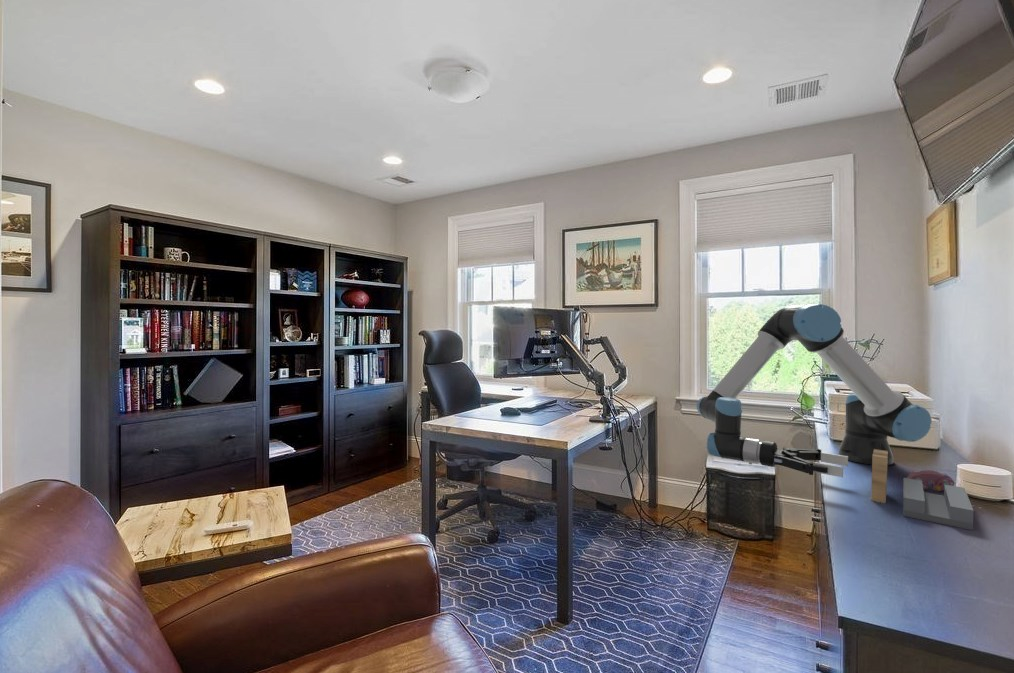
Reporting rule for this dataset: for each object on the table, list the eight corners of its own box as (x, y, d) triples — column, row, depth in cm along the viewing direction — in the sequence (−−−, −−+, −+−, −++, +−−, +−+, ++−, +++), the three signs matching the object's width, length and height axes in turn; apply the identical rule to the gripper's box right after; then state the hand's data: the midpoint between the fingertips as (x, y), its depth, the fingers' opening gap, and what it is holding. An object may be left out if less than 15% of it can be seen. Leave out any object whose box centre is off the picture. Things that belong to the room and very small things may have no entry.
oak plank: (872, 491, 130) (874, 449, 129) (886, 494, 128) (887, 451, 127) (870, 500, 123) (872, 455, 123) (885, 503, 121) (887, 457, 121)
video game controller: (907, 492, 134) (911, 474, 131) (903, 481, 137) (907, 463, 134) (953, 499, 129) (958, 480, 126) (947, 487, 133) (953, 468, 130)
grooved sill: (903, 493, 128) (903, 477, 128) (963, 504, 120) (964, 487, 120) (903, 515, 113) (903, 497, 113) (972, 530, 105) (973, 510, 105)
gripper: (769, 456, 153) (849, 469, 139) (750, 473, 134) (840, 491, 120) (770, 433, 153) (849, 444, 139) (751, 448, 134) (841, 462, 120)
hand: (845, 466), depth 130 cm, fingers open, 13 cm apart
